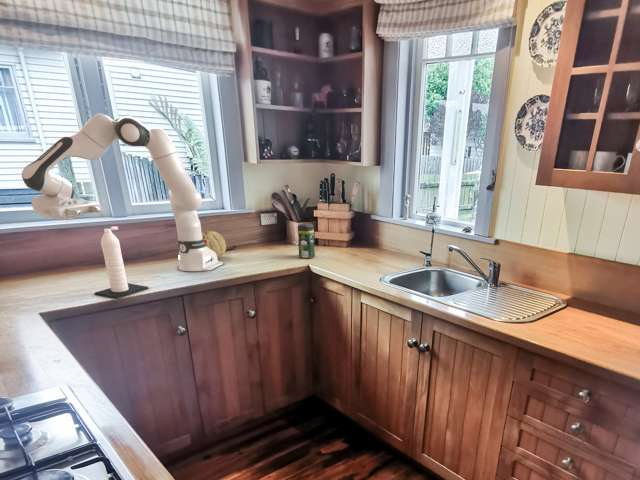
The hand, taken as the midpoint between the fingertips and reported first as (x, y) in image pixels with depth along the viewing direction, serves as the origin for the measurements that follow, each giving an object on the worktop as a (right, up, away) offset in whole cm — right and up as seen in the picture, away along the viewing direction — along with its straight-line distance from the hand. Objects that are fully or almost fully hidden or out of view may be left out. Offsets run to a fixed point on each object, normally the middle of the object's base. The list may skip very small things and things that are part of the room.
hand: (89, 211), depth 189 cm
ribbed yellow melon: (+29, -6, +61) cm, 68 cm away
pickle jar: (+78, -3, +72) cm, 106 cm away
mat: (+11, -32, +5) cm, 34 cm away
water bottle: (+10, -31, +5) cm, 33 cm away
